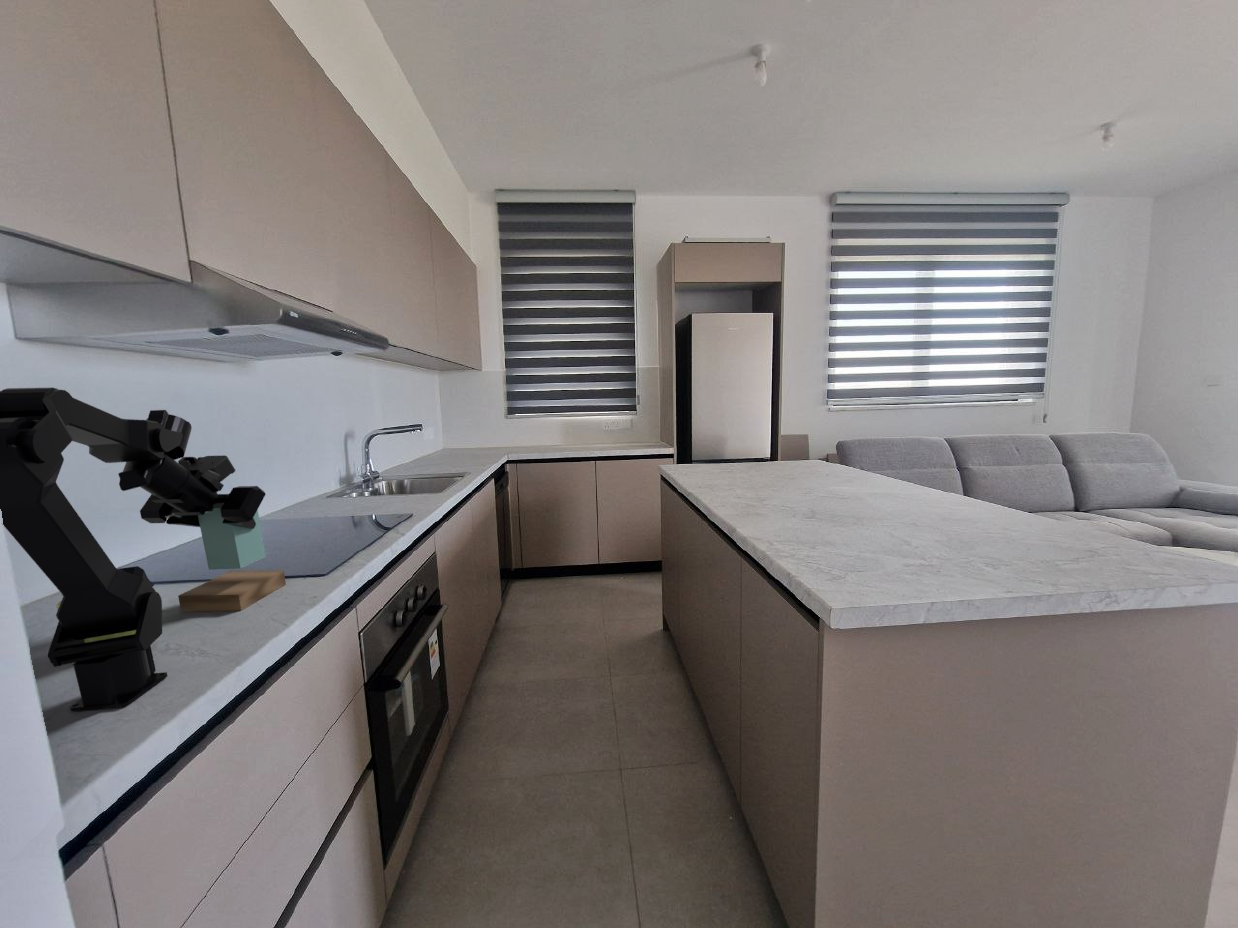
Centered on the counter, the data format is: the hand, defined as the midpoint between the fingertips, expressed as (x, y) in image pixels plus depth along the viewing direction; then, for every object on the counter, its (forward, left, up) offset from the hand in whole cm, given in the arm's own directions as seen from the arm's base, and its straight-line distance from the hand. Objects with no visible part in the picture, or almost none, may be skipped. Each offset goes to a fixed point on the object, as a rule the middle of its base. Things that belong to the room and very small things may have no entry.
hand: (237, 526), depth 88 cm
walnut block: (-2, +1, -13) cm, 13 cm away
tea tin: (-1, 0, -7) cm, 7 cm away
